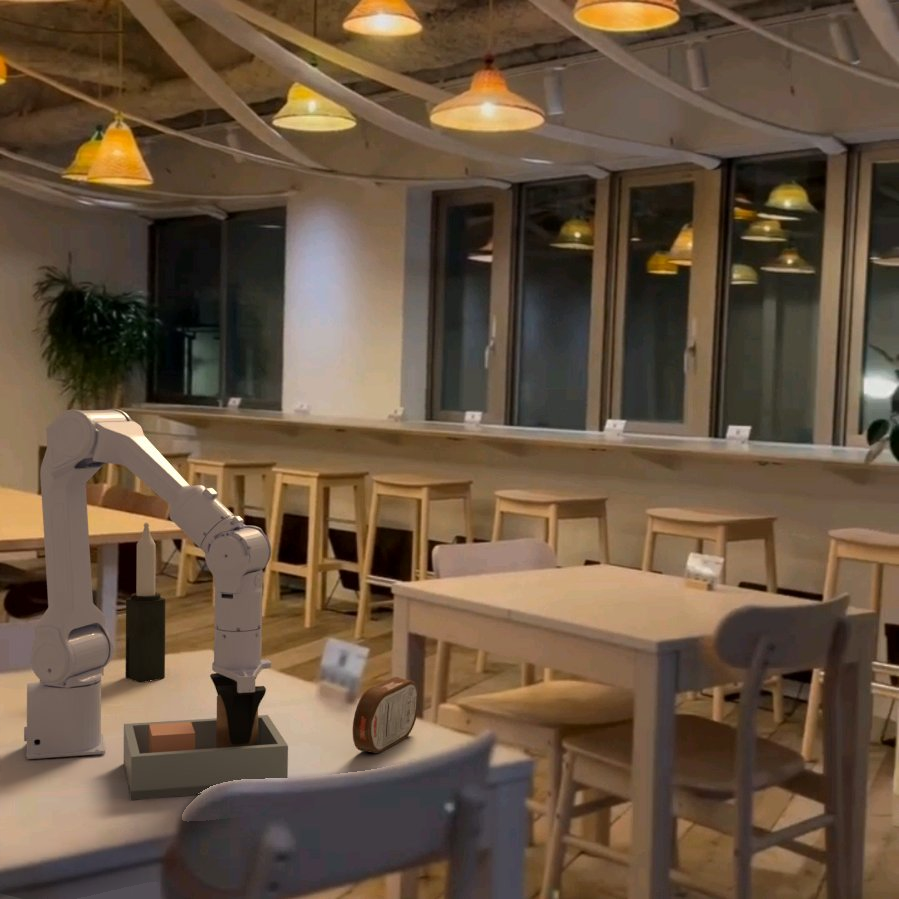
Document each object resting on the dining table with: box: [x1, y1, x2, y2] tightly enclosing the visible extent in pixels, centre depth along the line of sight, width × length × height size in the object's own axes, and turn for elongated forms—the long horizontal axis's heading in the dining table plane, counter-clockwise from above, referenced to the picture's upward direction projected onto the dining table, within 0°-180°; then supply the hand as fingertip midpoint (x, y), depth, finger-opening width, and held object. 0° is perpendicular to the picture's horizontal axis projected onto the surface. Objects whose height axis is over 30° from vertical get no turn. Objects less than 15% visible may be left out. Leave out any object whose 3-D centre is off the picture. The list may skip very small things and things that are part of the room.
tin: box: [352, 676, 419, 754], centre depth 166 cm, size 15×3×8 cm, turn 156°
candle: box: [124, 522, 166, 683], centre depth 199 cm, size 5×5×25 cm
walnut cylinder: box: [216, 694, 259, 748], centre depth 152 cm, size 5×5×7 cm
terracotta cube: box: [149, 722, 195, 753], centre depth 150 cm, size 5×5×5 cm
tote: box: [123, 714, 289, 801], centre depth 151 cm, size 18×14×5 cm
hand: (236, 737), depth 152 cm, fingers closed on walnut cylinder, 5 cm apart
